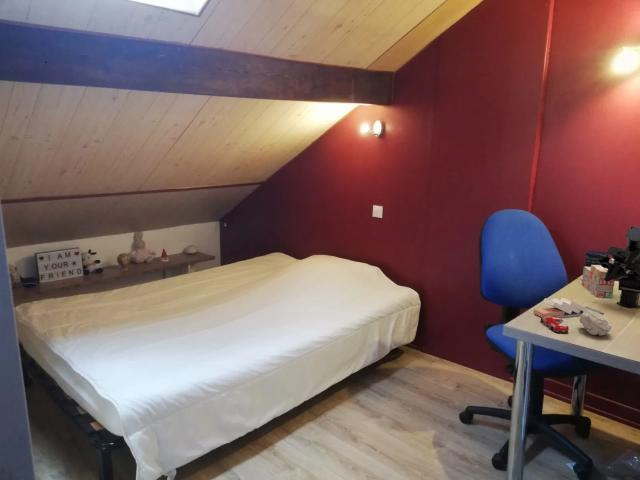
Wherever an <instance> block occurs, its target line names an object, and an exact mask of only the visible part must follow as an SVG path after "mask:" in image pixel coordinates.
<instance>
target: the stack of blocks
mask: <svg viewBox="0 0 640 480" xmlns="http://www.w3.org/2000/svg"><path fill="white" fill-rule="evenodd" d="M582 270H583V271H582V280H581V282H582V283H581V285H582V286H583V287H584V288H585V289H587V290H588V291H589V292H590V293H591V294H592V295H593V296H594V297H595V298H599V299H609V300H610V299H613V293H614V287H615V282H616V279H613V280H611V281H608V282H606V281H605V280H604V279H605V276H606V273H607V270H608V269H606V268H603V267H602V266H601V265H591V267H585V266H583V269H582Z"/></svg>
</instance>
